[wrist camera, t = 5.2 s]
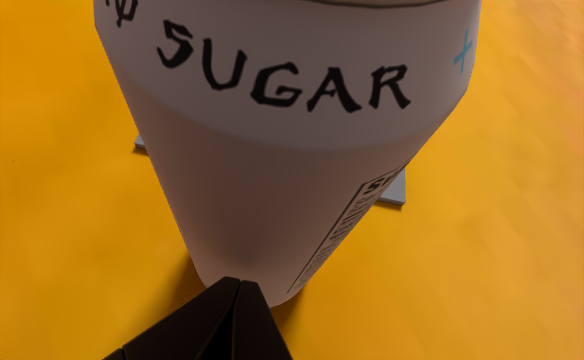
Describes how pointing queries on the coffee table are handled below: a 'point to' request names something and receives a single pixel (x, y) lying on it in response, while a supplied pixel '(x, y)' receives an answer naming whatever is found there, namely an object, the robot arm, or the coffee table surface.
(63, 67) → the coffee table surface
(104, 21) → the energy drink can
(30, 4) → the coffee table surface
